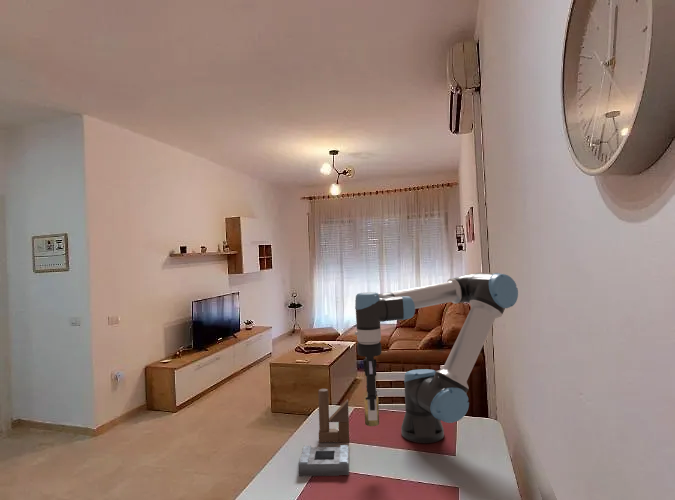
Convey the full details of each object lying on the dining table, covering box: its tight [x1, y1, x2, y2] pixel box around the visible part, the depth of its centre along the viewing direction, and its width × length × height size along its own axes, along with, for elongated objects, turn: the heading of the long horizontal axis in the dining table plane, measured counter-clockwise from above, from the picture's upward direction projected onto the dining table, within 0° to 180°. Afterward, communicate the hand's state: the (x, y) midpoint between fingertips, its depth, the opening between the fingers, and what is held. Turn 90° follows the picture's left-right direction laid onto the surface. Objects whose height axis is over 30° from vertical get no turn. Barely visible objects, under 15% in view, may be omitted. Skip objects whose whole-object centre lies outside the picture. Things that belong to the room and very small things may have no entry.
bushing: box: [363, 395, 380, 427], centre depth 127 cm, size 4×4×8 cm
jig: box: [298, 444, 350, 477], centre depth 127 cm, size 15×11×4 cm
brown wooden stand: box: [317, 388, 350, 443], centre depth 145 cm, size 4×11×18 cm, turn 87°
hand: (372, 416), depth 127 cm, fingers closed on bushing, 4 cm apart
